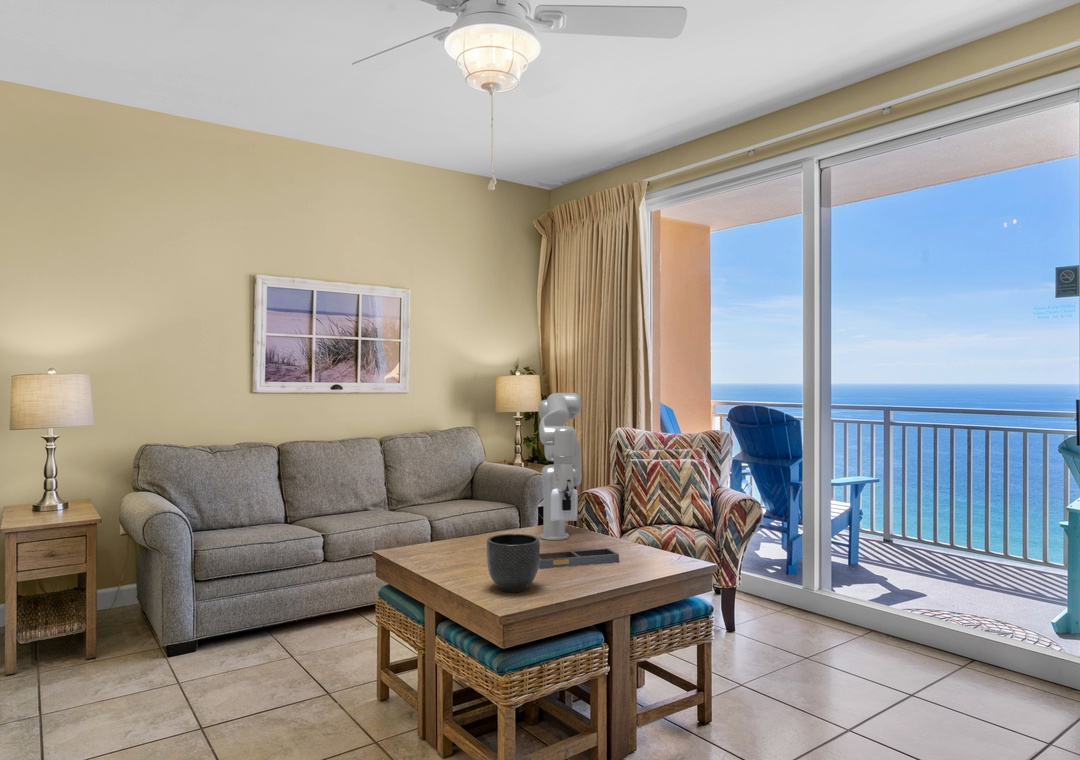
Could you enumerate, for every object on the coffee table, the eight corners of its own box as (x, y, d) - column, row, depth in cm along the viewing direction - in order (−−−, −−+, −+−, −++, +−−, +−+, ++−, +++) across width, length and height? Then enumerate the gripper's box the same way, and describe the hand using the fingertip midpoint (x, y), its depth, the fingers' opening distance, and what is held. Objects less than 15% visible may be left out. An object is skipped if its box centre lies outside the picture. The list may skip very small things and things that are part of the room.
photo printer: (576, 519, 256) (576, 486, 256) (578, 521, 252) (578, 487, 252) (549, 519, 254) (549, 486, 254) (551, 521, 250) (551, 488, 250)
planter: (515, 577, 231) (515, 531, 231) (550, 589, 218) (550, 539, 219) (475, 588, 219) (475, 538, 219) (510, 600, 207) (510, 548, 207)
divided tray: (531, 562, 252) (531, 553, 252) (608, 555, 261) (608, 548, 261) (540, 569, 242) (540, 560, 242) (619, 562, 252) (619, 554, 252)
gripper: (547, 458, 260) (546, 506, 260) (562, 462, 244) (562, 513, 244) (565, 458, 263) (565, 505, 262) (581, 462, 247) (581, 512, 246)
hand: (563, 508), depth 253 cm, fingers closed on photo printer, 4 cm apart
